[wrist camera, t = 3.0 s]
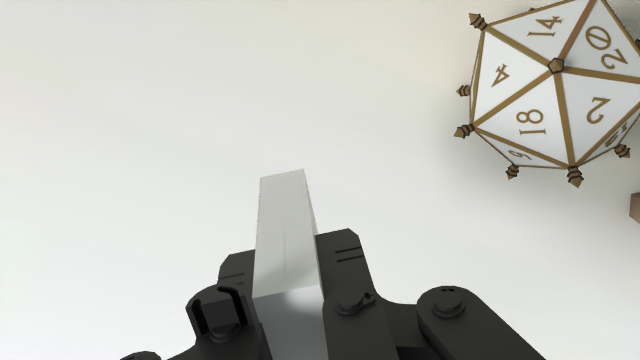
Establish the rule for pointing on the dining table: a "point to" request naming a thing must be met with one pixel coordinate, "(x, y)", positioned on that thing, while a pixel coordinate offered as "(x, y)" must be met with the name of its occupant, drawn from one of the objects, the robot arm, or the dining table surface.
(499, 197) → the dining table surface
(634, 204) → the brown wooden bar
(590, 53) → the game die
